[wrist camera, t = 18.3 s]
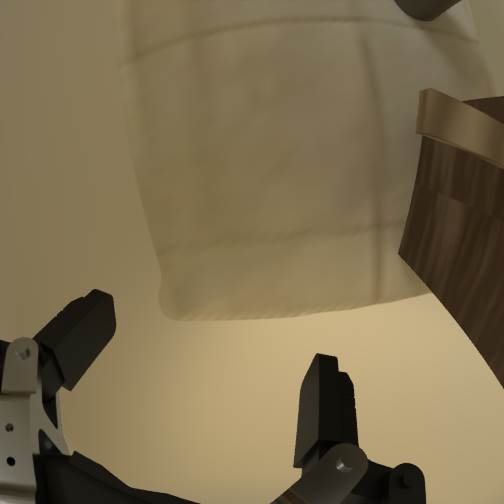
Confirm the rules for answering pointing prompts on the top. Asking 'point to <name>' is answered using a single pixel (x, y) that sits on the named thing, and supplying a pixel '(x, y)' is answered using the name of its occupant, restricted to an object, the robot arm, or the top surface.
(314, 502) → the robot arm
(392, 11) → the top surface
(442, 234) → the two-tone wooden block
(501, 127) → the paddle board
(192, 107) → the top surface
